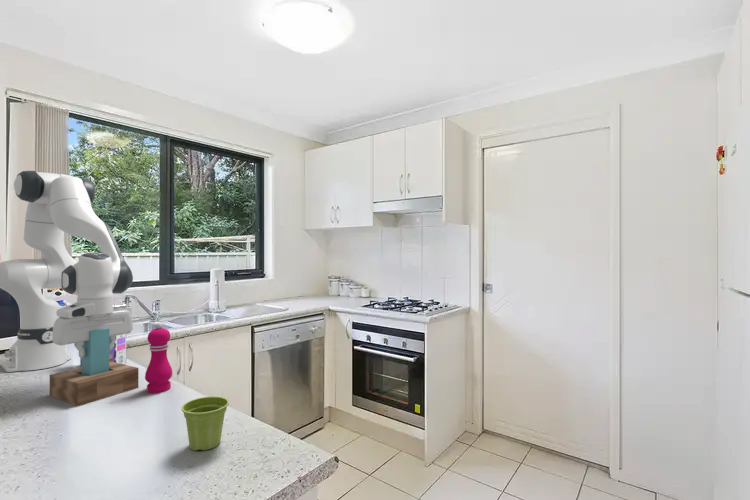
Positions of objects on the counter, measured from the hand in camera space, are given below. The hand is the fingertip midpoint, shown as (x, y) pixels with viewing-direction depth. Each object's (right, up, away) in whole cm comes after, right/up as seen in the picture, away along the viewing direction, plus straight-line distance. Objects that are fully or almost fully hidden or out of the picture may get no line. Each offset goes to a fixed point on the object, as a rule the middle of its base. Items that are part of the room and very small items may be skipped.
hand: (95, 354), depth 115 cm
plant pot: (+47, -11, -32) cm, 57 cm away
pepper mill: (+18, -11, +2) cm, 21 cm away
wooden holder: (0, -11, 0) cm, 11 cm away
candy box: (-15, -12, +25) cm, 31 cm away
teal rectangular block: (0, -7, 0) cm, 7 cm away
